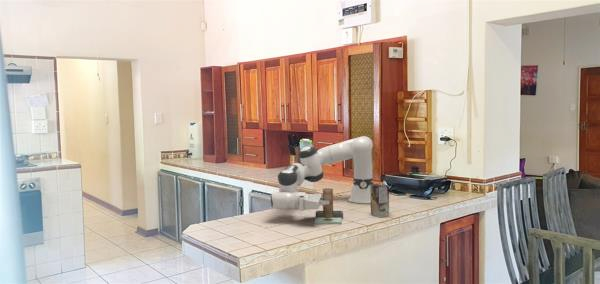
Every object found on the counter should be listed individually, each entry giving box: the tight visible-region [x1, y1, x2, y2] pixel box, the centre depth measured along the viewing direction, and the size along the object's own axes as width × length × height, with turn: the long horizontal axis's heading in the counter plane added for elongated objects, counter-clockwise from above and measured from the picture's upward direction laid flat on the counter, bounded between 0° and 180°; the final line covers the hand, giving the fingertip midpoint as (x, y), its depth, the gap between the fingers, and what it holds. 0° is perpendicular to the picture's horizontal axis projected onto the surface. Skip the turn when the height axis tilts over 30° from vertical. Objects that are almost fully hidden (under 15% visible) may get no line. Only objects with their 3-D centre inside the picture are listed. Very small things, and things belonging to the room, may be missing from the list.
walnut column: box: [322, 188, 334, 218], centre depth 229 cm, size 5×5×14 cm
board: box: [314, 217, 343, 225], centre depth 230 cm, size 9×13×1 cm
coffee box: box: [370, 183, 390, 218], centre depth 241 cm, size 9×6×16 cm
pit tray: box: [315, 210, 344, 220], centre depth 239 cm, size 5×14×3 cm, turn 83°
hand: (329, 201), depth 229 cm, fingers closed on walnut column, 5 cm apart
